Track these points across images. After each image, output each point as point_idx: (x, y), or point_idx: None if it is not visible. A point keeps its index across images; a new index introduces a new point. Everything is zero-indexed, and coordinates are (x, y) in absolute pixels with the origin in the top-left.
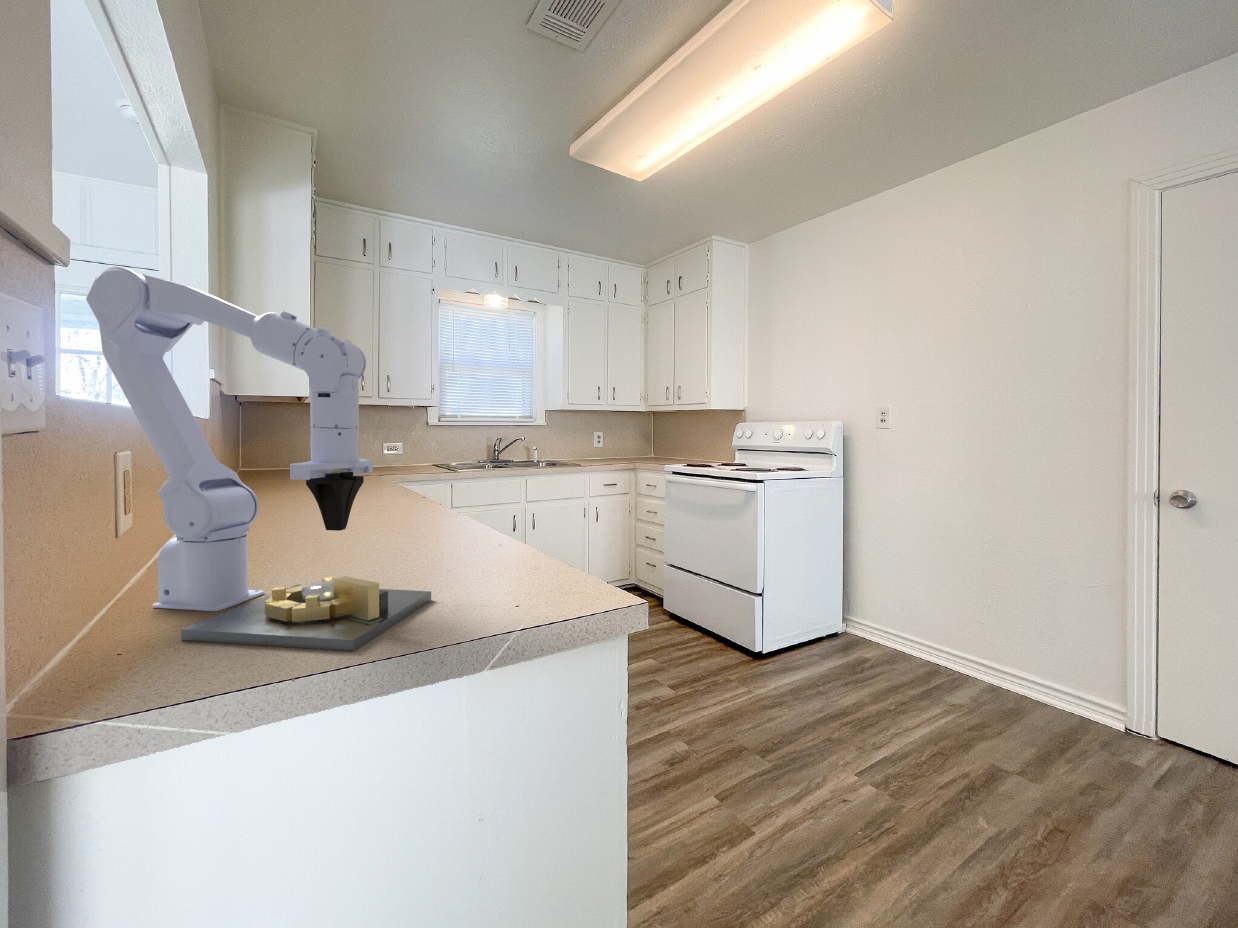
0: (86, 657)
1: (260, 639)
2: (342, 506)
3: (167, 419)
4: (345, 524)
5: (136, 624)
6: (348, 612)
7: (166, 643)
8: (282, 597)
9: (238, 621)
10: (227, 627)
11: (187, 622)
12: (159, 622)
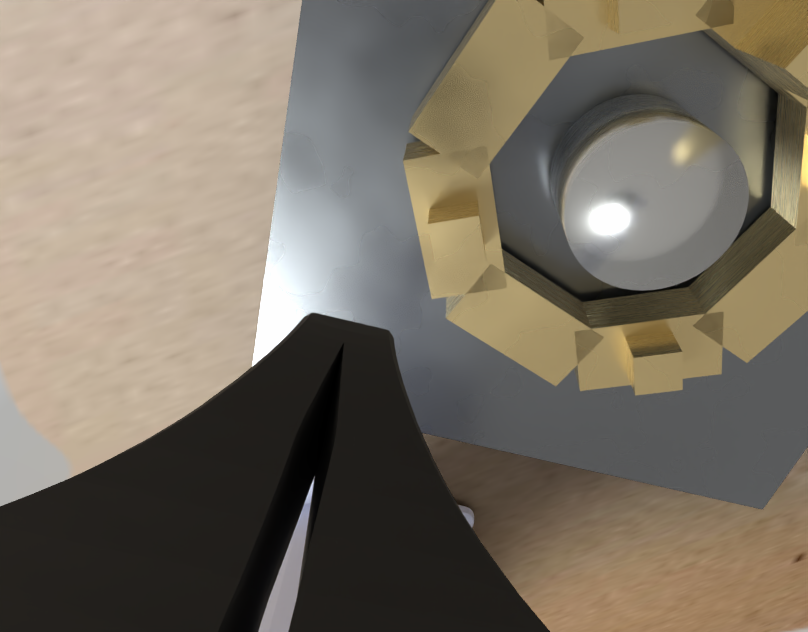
0: (795, 602)
1: None
2: (410, 452)
3: None
4: (329, 328)
5: (550, 622)
6: None
7: (745, 506)
8: (670, 334)
9: (732, 398)
10: (794, 403)
11: (556, 535)
12: (542, 589)
